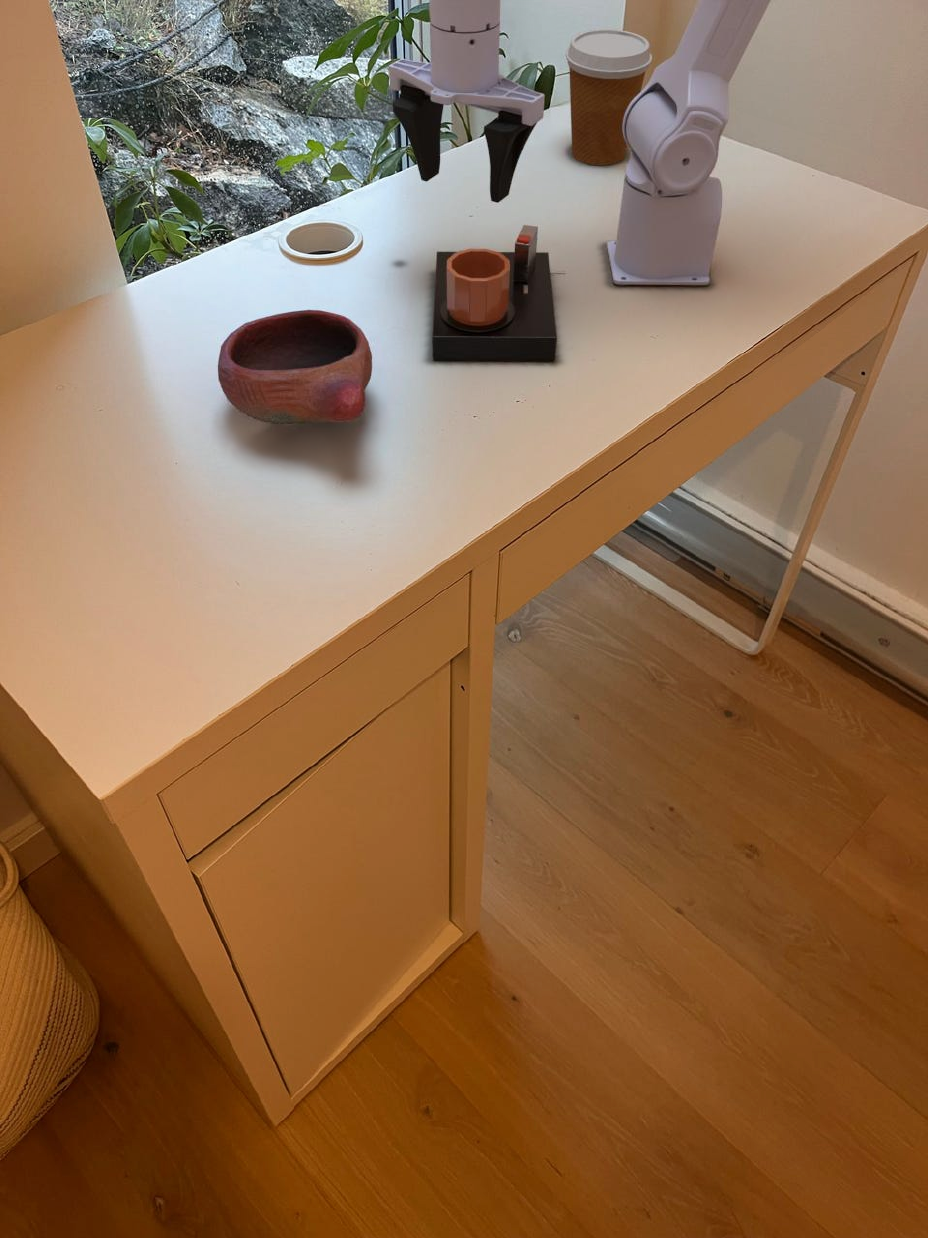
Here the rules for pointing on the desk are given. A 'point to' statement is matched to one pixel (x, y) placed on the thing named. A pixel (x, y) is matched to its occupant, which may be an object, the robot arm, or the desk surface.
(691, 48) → the robot arm
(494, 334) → the stove
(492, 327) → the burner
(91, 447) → the desk surface
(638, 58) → the disposable coffee cup
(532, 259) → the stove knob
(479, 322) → the small cup
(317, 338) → the bowl
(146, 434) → the desk surface
